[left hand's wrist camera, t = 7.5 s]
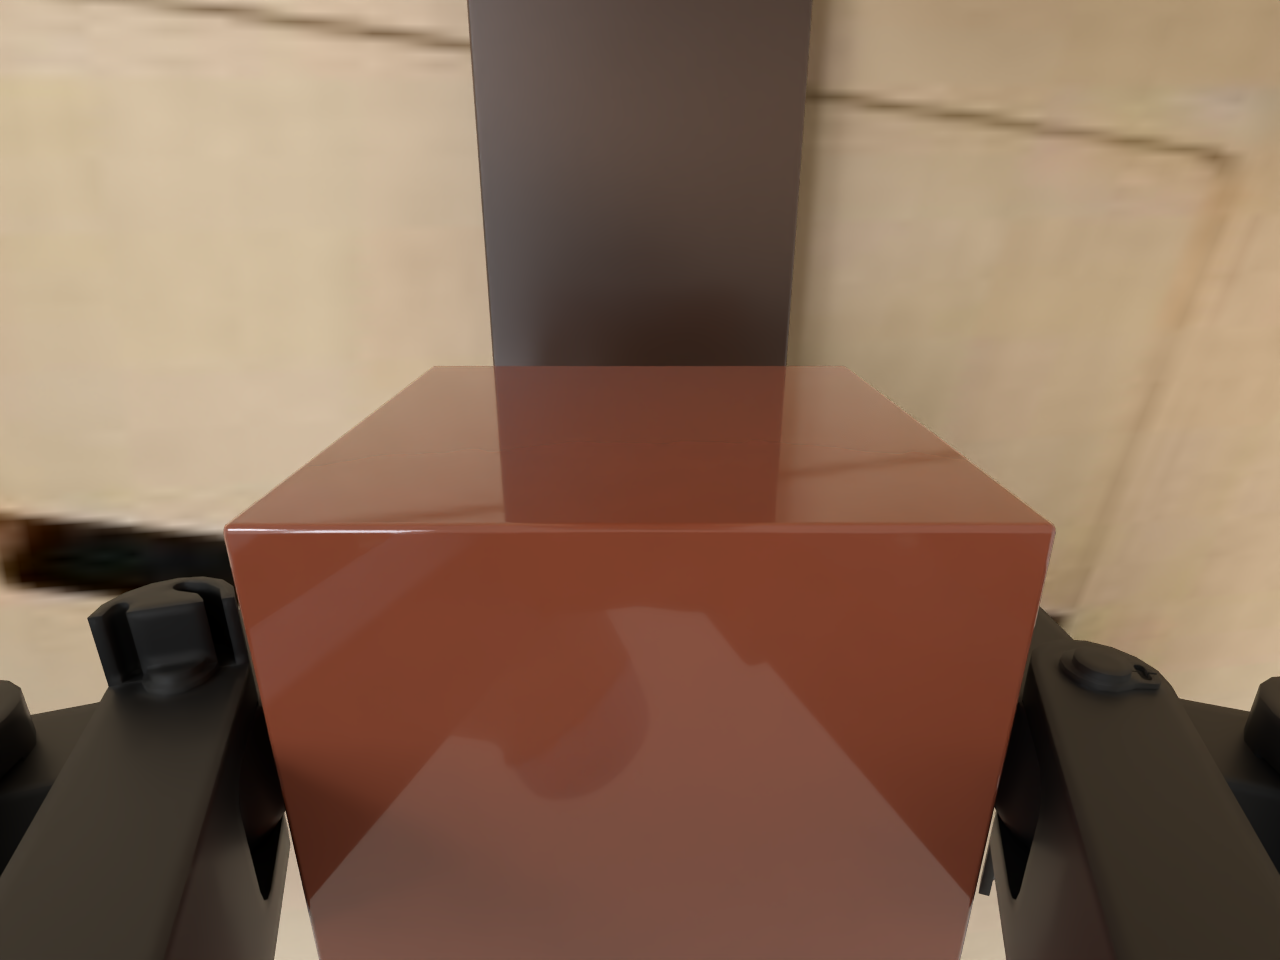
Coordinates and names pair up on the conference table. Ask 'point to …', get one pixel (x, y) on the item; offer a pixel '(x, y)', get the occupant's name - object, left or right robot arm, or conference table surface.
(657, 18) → the walnut stand
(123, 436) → the conference table surface
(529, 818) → the cap block
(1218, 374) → the conference table surface
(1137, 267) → the conference table surface
